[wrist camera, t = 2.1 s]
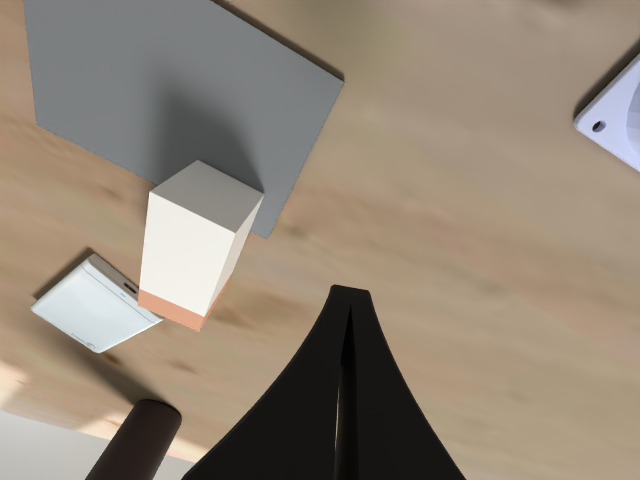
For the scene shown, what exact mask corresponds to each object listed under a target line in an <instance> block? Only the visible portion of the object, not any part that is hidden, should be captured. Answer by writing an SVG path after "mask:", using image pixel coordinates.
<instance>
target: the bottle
mask: <svg viewBox="0 0 640 480" xmlns="http://www.w3.org/2000/svg"><path fill="white" fill-rule="evenodd" d="M181 422H182V418H181V416H180V414H179V413H178V412H177V411H176V410H174V409H173V408H171V407H170V406H168V405H165V404H163V403H160V402H157V401H152V400H143V401H140V402H137V403H136V404H135V406H134V407H133V409H132V410H131V412H130V413H129V415H128V416H127V418H126V419H125V421H124V422H123V424H122V425H121V427H120V428H119V430H118V431H117V433H116V434H115V436H114V437H113V439H112V440H111V441H110V443H109V444H108V446H107V448H106V449H105V451H104V452H103V453H102V455H101V456H100V458H99V459H98V461H97V462H96V464H95V465H94V467H93V468H92V470H91V471H90V473H89V474H88V476H87V477H86V479H85V480H152V479H153V478H154V476H155V474H156V471H157V470H158V467H159V466H160V464H161V462H162V460H163V458H164V456H165V454H166V452H167V450H168V448H169V446H170V444H171V442H172V441H173V439H174V437H175V435H176V433H177V431H178V429H179V427H180V425H181Z"/></svg>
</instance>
